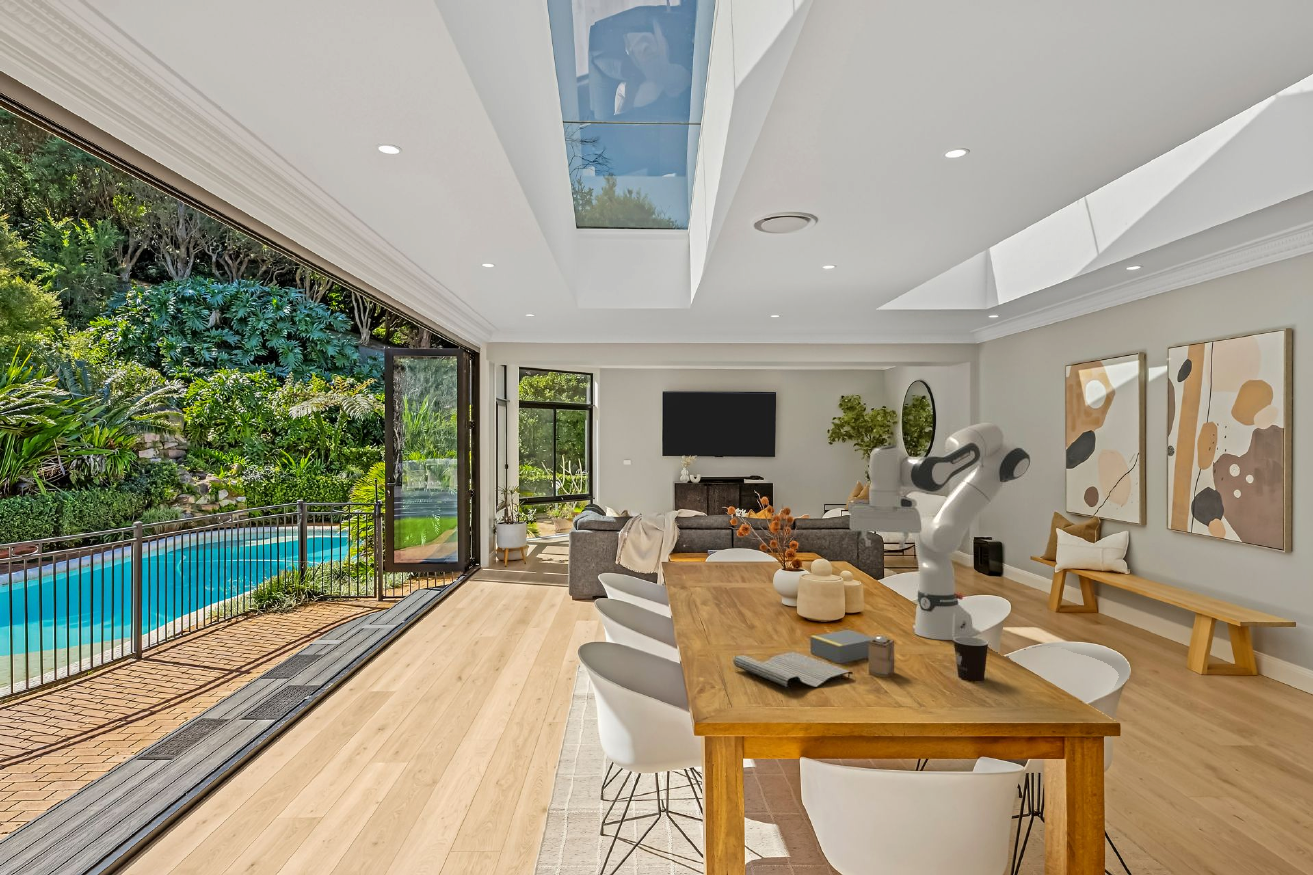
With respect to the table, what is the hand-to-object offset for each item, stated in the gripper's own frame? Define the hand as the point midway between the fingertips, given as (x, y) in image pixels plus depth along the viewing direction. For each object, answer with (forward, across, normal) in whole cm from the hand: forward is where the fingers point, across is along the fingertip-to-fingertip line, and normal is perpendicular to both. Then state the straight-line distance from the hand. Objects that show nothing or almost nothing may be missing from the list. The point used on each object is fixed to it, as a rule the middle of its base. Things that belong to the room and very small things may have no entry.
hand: (884, 547), depth 200 cm
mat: (+34, -24, -21) cm, 47 cm away
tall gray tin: (+33, -1, -12) cm, 36 cm away
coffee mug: (+33, +22, -7) cm, 41 cm away
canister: (+25, -1, -12) cm, 28 cm away
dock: (+33, -12, +3) cm, 36 cm away
